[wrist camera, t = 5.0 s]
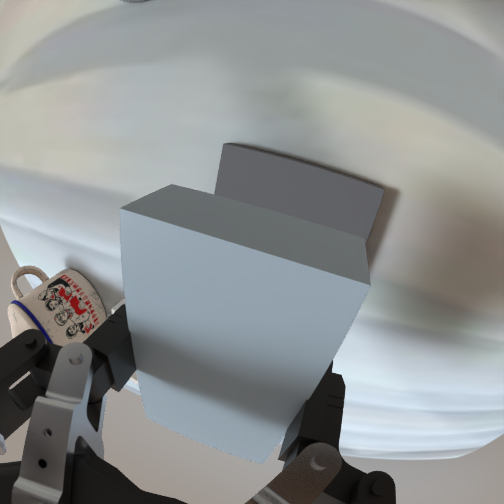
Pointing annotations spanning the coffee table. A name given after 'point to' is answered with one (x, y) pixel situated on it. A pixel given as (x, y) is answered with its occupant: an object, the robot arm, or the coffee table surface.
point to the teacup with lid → (56, 307)
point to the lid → (233, 313)
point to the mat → (298, 189)
